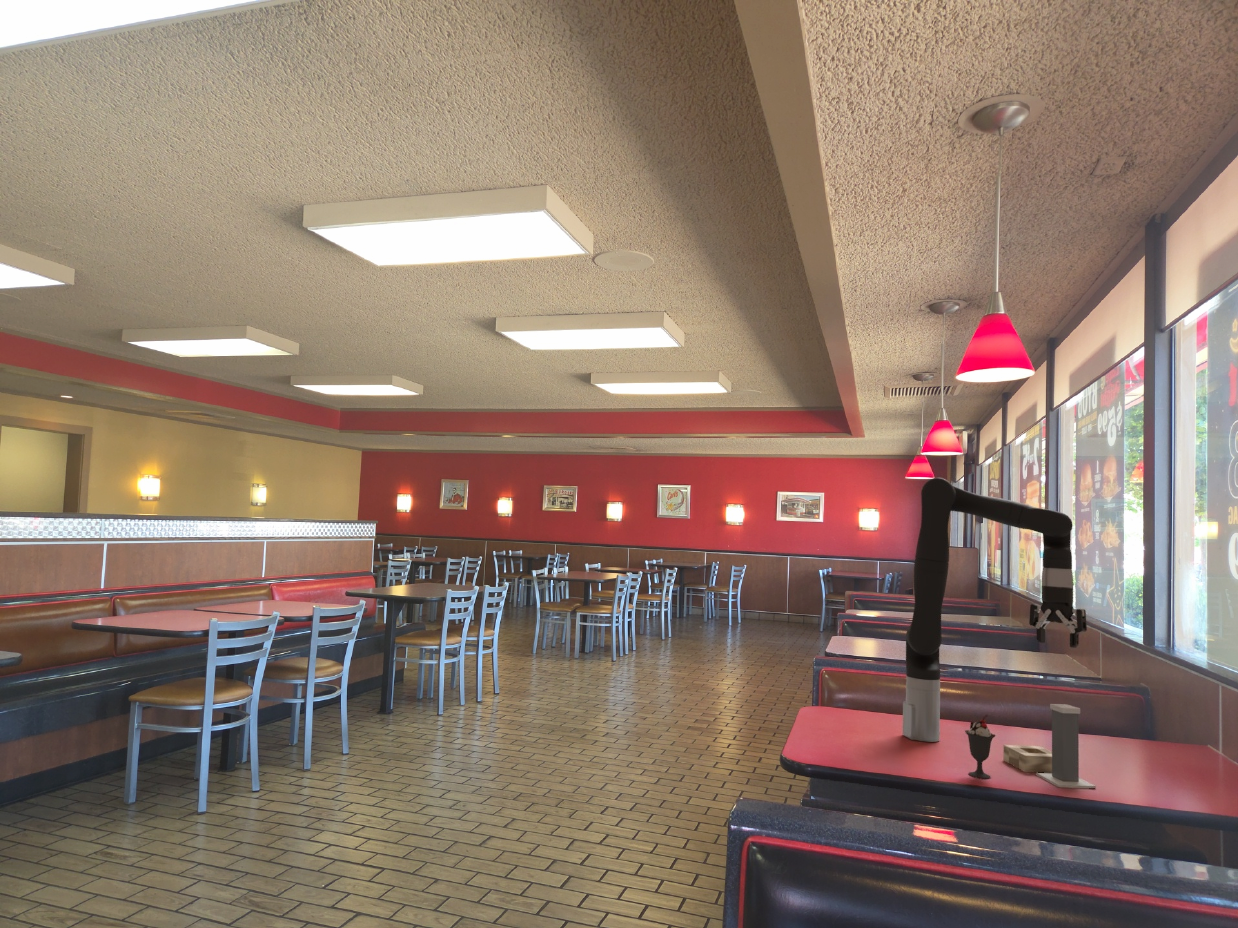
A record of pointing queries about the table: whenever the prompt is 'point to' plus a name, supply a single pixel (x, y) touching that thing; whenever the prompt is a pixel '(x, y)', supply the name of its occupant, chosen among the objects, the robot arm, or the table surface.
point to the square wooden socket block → (1029, 758)
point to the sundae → (979, 745)
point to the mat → (1060, 783)
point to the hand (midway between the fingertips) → (1057, 644)
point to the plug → (1065, 742)
